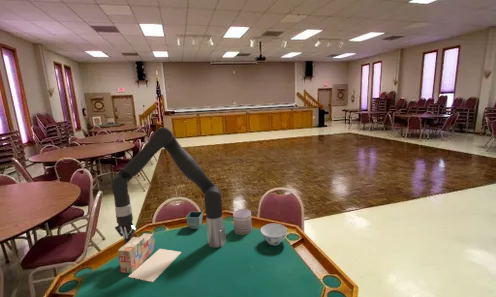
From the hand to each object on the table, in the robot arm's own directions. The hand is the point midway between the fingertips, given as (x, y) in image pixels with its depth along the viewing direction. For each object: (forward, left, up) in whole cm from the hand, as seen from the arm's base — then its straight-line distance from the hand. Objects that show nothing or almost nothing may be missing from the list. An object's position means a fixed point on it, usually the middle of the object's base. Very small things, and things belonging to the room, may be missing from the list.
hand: (128, 243), depth 134 cm
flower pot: (-17, -40, -9) cm, 44 cm away
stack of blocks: (-5, -1, -9) cm, 11 cm away
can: (-49, -43, -9) cm, 66 cm away
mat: (-17, 0, -9) cm, 19 cm away
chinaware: (-71, -34, -9) cm, 79 cm away
